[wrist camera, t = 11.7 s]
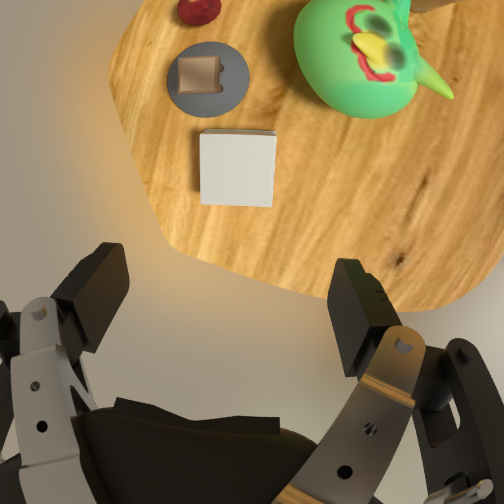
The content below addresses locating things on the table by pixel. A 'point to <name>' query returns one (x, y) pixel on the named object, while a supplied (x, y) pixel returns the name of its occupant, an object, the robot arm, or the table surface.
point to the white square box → (237, 167)
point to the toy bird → (362, 56)
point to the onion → (198, 11)
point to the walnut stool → (199, 75)
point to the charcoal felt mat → (230, 79)
